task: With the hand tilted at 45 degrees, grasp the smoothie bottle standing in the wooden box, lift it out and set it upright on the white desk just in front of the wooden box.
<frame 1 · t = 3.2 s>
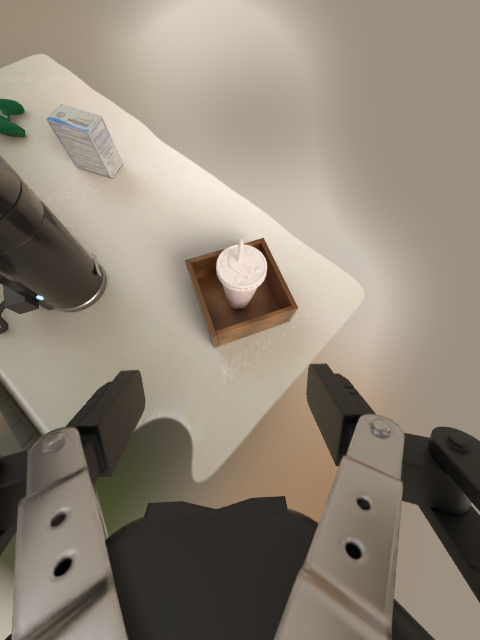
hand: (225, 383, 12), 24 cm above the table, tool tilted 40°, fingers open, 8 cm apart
wooden box: (238, 299, 39), on the table
medicine box: (100, 167, 48), on the table
smoothie: (238, 299, 39), resting on wooden box
gaming controller: (12, 126, 51), on the table
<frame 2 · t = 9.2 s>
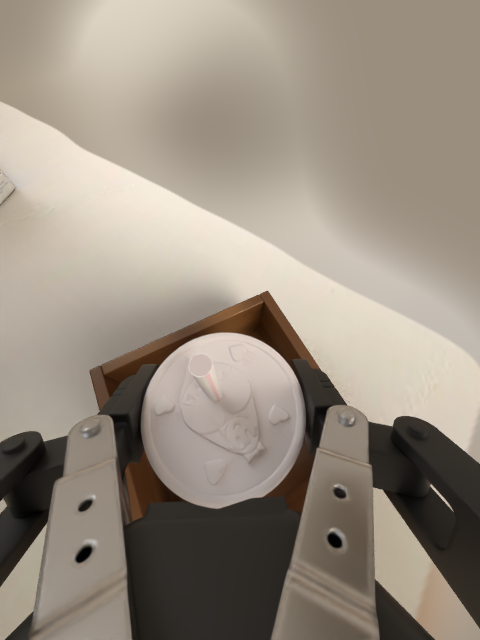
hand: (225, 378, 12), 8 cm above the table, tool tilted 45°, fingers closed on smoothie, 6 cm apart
wooden box: (230, 423, 18), on the table
smoothie: (230, 423, 18), resting on wooden box, touching gripper
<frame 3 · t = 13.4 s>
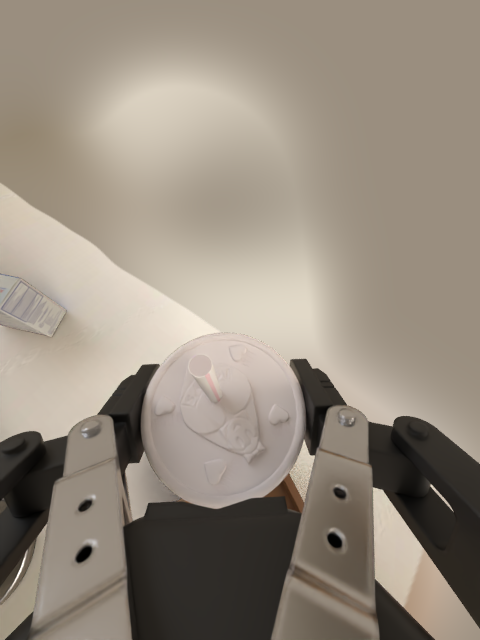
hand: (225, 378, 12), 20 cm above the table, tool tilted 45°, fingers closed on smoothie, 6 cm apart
wooden box: (247, 537, 25), on the table
medicine box: (37, 319, 36), on the table
smoothie: (230, 423, 18), point 12 cm above the table, touching gripper
when the fingers open (7 cm above the table, at t = 17.8 s): smoothie stays where it is, on the table.
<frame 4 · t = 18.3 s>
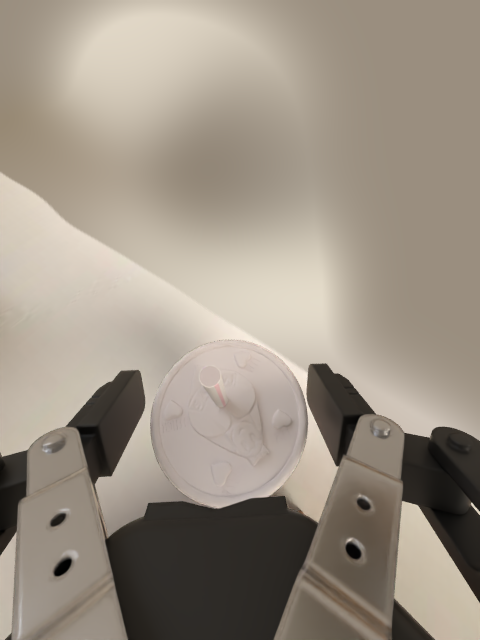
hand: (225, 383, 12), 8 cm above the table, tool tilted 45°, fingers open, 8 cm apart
smoothie: (233, 425, 19), on the table
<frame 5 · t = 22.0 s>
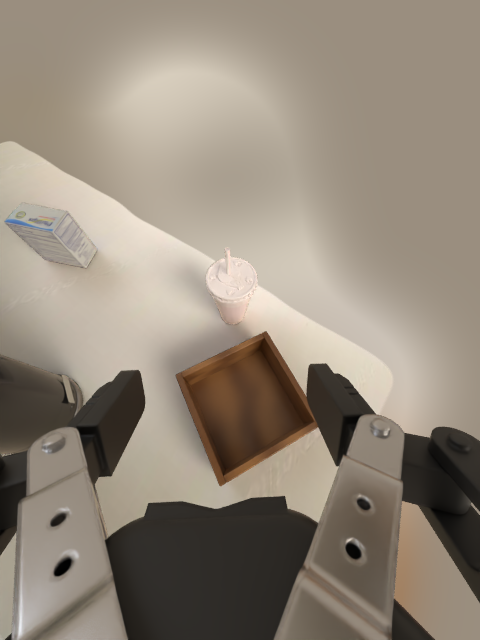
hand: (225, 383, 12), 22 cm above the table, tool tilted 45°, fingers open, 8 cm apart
wooden box: (245, 404, 32), on the table
medicine box: (73, 256, 43), on the table
smoothie: (232, 314, 38), on the table
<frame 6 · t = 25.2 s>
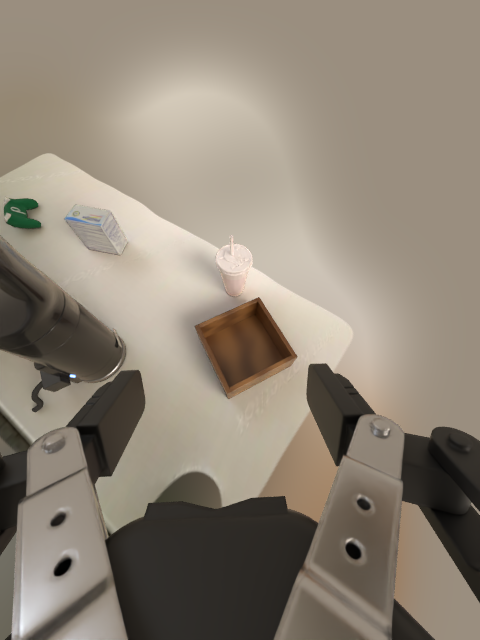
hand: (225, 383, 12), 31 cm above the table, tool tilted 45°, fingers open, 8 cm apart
wooden box: (243, 351, 44), on the table
medicine box: (109, 246, 55), on the table
smoothie: (234, 289, 50), on the table
gaming controller: (28, 219, 59), on the table
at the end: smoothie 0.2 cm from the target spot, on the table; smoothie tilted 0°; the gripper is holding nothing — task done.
